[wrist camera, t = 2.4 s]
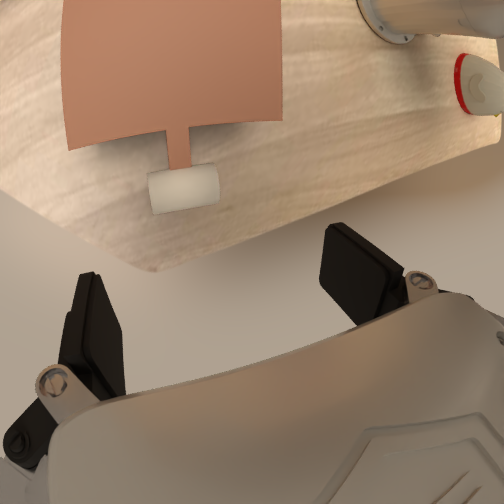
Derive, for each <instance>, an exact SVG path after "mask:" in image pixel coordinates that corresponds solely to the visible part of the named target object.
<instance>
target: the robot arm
mask: <svg viewBox="0 0 504 504" xmlns="http://www.w3.org/2000/svg"><path fill="white" fill-rule="evenodd" d="M358 5H359V7H360V10H361V12H362V14H363V16H364V18H365V20H366V21H367V23H368V24H369V25H370V27H371V28H372V29H373V30H374V31H375V32H376V33H377V34H378V35H379V36H380V37H382V38H383V39H384V40H386V41H388V42H390V43H394V44H405V43H408V42H410V41H411V40H412V39H413V38H414V36H415V35H416V34H432V35H433V36H435V37H438V36H440V34H447V35H463V36H474V37H482V38H489V39H500V38H503V37H504V0H358ZM403 271H404V268H403V267H402V266H401V265H399V264H398V263H397V262H396V261H394V260H393V259H392V258H390V257H389V256H388V255H386V254H385V253H384V252H382V251H381V250H380V249H379V248H377V247H376V246H374V245H373V244H372V243H370V242H369V241H368V240H366V239H365V238H364V237H362V236H361V235H359V234H358V233H357V232H355V231H354V230H353V229H351V228H350V227H348V226H347V225H346V224H344V223H342V222H339V223H334V224H330V225H329V226H328V228H327V229H326V230H325V237H324V246H323V254H322V261H321V268H320V275H319V282H320V285H321V286H322V288H323V289H324V290H325V291H326V292H327V293H328V294H329V295H330V296H331V297H332V298H333V299H334V301H335V302H336V303H337V304H338V305H339V306H340V307H341V308H342V310H343V311H344V312H345V313H346V314H347V315H348V316H349V317H350V319H351V320H352V321H353V322H354V323H355V324H356V325H357V326H356V327H354V328H352V329H349V330H347V331H344V332H342V333H339V334H337V335H334V336H331V337H329V338H326V339H324V340H321V341H318V342H316V343H313V344H310V345H307V346H305V347H302V348H299V349H296V350H293V351H290V352H288V353H284V354H281V355H278V356H275V357H272V358H269V359H266V360H263V361H260V362H257V363H253V364H250V365H246V366H243V367H240V368H236V369H233V370H229V371H226V372H222V373H219V374H214V375H211V376H207V377H203V378H199V379H195V380H191V381H186V382H182V383H178V384H174V385H170V386H165V387H161V388H156V389H151V390H147V391H142V392H137V393H133V394H128V395H126V390H125V379H124V365H123V346H122V345H123V344H122V330H121V327H120V324H119V322H118V320H117V317H116V315H115V313H114V310H113V308H112V305H111V303H110V300H109V298H108V295H107V292H106V290H105V287H104V284H103V282H102V279H101V276H100V275H99V274H97V275H96V274H95V273H94V272H89V273H84V274H80V275H79V278H78V282H77V286H76V291H75V295H74V299H73V304H72V309H71V311H70V312H68V313H67V315H66V318H65V323H64V329H63V335H62V340H61V346H60V352H59V359H58V364H54V365H51V366H48V367H47V368H45V369H44V370H43V371H42V372H41V373H40V374H39V376H38V377H37V380H36V383H35V390H36V393H37V395H38V398H37V399H36V400H35V401H34V402H33V403H32V404H31V405H30V406H29V407H28V408H27V409H26V410H25V412H24V413H23V414H22V415H21V416H20V417H19V418H18V419H17V420H16V421H15V422H14V423H13V424H12V425H11V427H10V428H9V429H8V430H7V432H6V433H5V435H4V439H3V448H4V452H5V454H6V455H5V458H4V459H3V458H2V457H0V504H504V318H503V317H501V316H498V315H496V314H494V313H492V312H490V311H488V310H485V309H484V308H482V307H481V306H480V305H479V304H478V303H476V302H475V301H474V299H473V298H472V297H470V296H468V295H464V294H461V293H454V292H449V291H445V290H440V289H438V288H437V284H436V282H435V280H434V279H433V278H432V277H431V276H429V275H428V274H426V273H423V272H420V271H410V272H408V273H407V274H406V276H405V277H403V276H402V274H403Z"/></svg>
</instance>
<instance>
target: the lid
mask: <svg viewBox="0 0 504 504" xmlns="http://www.w3.org/2000/svg"><path fill="white" fill-rule="evenodd" d="M61 86H62V100H63V112H64V121H65V129H66V137H67V144H68V150H69V151H70V150H74V149H77V148H81V147H85V146H89V145H93V144H97V143H101V142H105V141H110V140H114V139H119V138H124V137H129V136H134V135H139V134H145V133H150V132H157V131H163V130H166V140H167V150H168V160H169V169H167V170H161V171H156V172H150V173H147V180H148V188H149V195H150V201H151V207H152V212H153V215H158V214H163V213H168V212H173V211H179V210H184V209H190V208H196V207H201V206H207V205H213V204H218V203H219V201H220V183H219V177H218V173H217V169H216V166H215V164H214V163H207V164H199V165H191V153H190V140H189V127H192V126H201V125H211V124H222V123H236V122H254V121H282V30H281V0H64V2H63V13H62V26H61Z"/></svg>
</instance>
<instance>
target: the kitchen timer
mask: <svg viewBox="0 0 504 504" xmlns="http://www.w3.org/2000/svg"><path fill="white" fill-rule="evenodd" d="M454 84H455V91H456V95H457V98H458V101H459V103H460V106H461V107H462V109H463V110H464V111H465V112H467V113H469V114H472V115H477V116H487V115H494V116H495V117H497V116H498V115H499V114H501V113H503V112H504V73H503V72H502V71H501V70H500V69H499V68H498V67H496V66H495V65H494V64H492V63H490V62H489V61H487V60H485V59H483V58H480V57H478V56H475V55H471V54H465V53H463V54H460V55H459V57H458V58H457V60H456V63H455V69H454Z"/></svg>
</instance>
